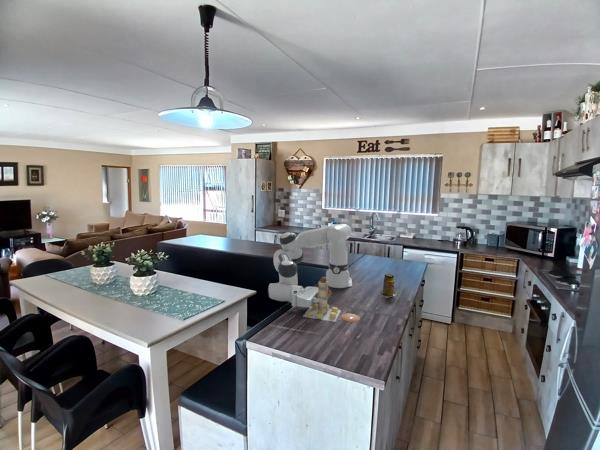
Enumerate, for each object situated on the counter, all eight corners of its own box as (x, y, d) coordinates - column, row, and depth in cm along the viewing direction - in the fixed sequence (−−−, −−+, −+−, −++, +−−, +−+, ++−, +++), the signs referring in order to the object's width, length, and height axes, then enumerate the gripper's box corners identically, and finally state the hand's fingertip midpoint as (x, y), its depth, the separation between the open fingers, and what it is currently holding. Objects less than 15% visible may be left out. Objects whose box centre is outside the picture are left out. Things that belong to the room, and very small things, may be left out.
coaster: (342, 313, 157) (342, 312, 157) (360, 316, 155) (361, 315, 154) (339, 321, 149) (339, 319, 149) (358, 324, 146) (358, 322, 146)
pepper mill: (318, 310, 159) (320, 275, 156) (327, 312, 157) (329, 276, 155) (316, 314, 154) (317, 277, 152) (325, 315, 153) (326, 278, 150)
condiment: (396, 295, 185) (397, 275, 183) (386, 298, 180) (387, 278, 179) (386, 291, 191) (388, 272, 189) (377, 294, 186) (378, 274, 185)
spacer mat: (310, 306, 165) (310, 302, 165) (340, 311, 160) (341, 306, 160) (302, 317, 152) (302, 312, 151) (335, 323, 147) (335, 317, 146)
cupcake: (318, 303, 170) (319, 282, 168) (313, 297, 178) (314, 277, 176) (333, 302, 172) (334, 281, 171) (328, 296, 180) (328, 276, 179)
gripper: (303, 293, 169) (329, 297, 165) (291, 307, 150) (319, 312, 145) (304, 282, 168) (329, 285, 164) (291, 295, 149) (319, 299, 145)
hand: (324, 298), depth 155 cm, fingers closed on pepper mill, 5 cm apart
